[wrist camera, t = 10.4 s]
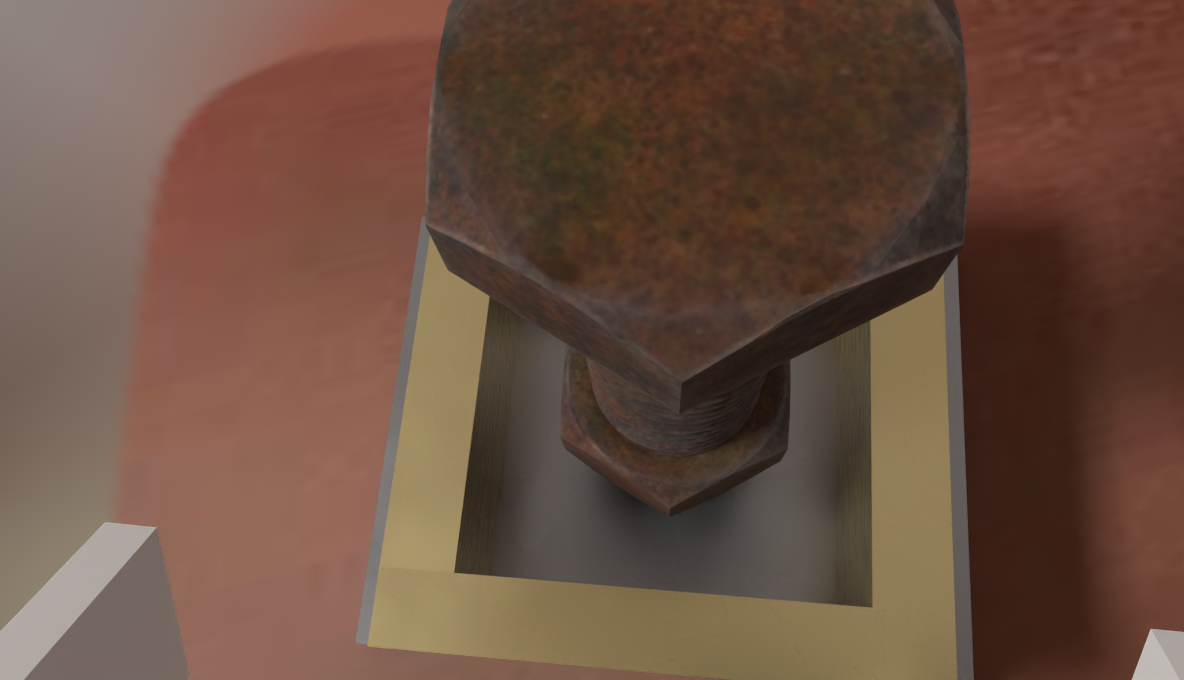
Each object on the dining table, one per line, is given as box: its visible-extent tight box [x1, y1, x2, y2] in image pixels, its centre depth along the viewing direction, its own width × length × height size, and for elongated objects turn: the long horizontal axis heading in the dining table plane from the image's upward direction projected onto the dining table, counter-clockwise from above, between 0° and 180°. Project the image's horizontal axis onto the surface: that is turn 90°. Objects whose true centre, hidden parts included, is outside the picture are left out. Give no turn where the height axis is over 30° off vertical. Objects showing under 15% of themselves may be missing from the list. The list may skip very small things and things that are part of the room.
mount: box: [355, 217, 974, 680], centre depth 22 cm, size 14×11×5 cm
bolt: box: [425, 0, 970, 517], centre depth 16 cm, size 6×5×15 cm
